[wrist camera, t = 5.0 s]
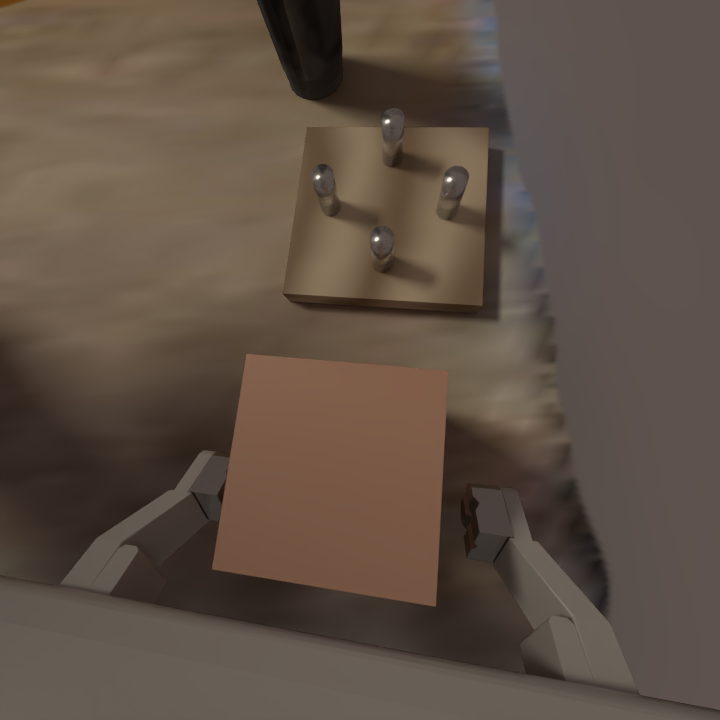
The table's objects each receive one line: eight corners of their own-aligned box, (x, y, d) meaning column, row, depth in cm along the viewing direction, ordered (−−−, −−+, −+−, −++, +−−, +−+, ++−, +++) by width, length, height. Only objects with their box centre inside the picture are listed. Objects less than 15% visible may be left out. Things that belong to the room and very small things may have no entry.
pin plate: (290, 301, 22) (265, 273, 17) (312, 144, 24) (294, 84, 19) (475, 313, 20) (500, 286, 16) (482, 146, 22) (505, 80, 18)
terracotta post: (326, 466, 20) (211, 568, 7) (335, 389, 20) (246, 353, 8) (403, 475, 19) (435, 607, 6) (409, 396, 20) (448, 370, 7)
